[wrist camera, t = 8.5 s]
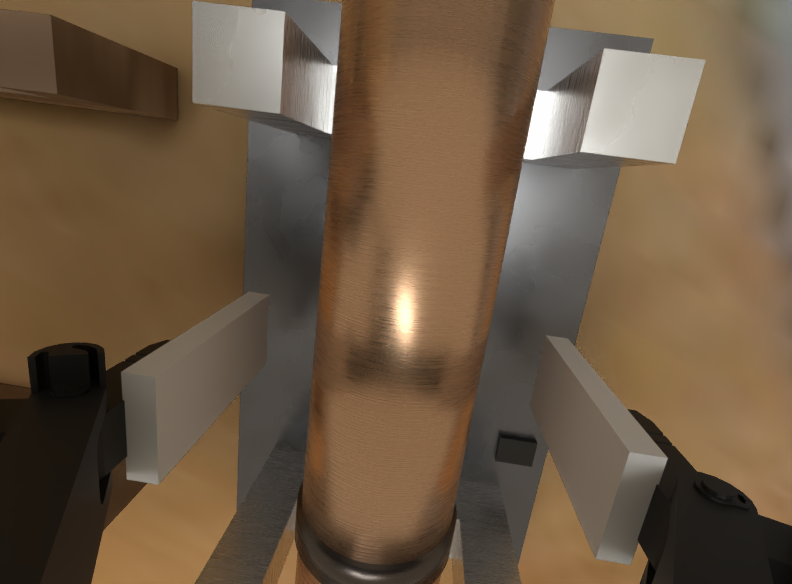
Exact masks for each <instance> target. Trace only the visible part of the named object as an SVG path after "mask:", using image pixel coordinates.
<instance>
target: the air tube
mask: <svg viewBox="0 0 792 584" xmlns="http://www.w3.org/2000/svg"><path fill="white" fill-rule="evenodd" d="M554 3H555V0H342V12H341V24H340V36H339V49H338V61H337V73H336V86H335V98H334V110H333V123H332V135H331V147H330V159H329V172H328V184H327V196H326V209H325V221H324V233H323V246H322V258H321V270H320V283H319V295H318V307H317V320H316V332H315V344H314V357H313V369H312V381H311V393H310V406H309V418H308V430H307V443H306V455H305V467H304V480H303V482H302V484H301V486H300V489H299V492H298V497H297V508H296V521H295V542H296V547H297V550H298V554H297V566H296V578H295V584H439V581H440V576H441V573H442V571H443V570H444V568H445V566H446V564H447V561H448V559H449V555H450V550H451V545H452V540H453V535H454V530H455V525H456V520H457V510H456V504H455V501H456V496H457V491H458V486H459V481H460V476H461V471H462V466H463V460H464V455H465V450H466V445H467V440H468V435H469V430H470V425H471V420H472V415H473V410H474V405H475V400H476V395H477V390H478V385H479V380H480V375H481V370H482V365H483V360H484V355H485V350H486V345H487V340H488V335H489V330H490V325H491V320H492V315H493V310H494V305H495V300H496V295H497V289H498V284H499V279H500V274H501V269H502V264H503V259H504V254H505V249H506V244H507V239H508V234H509V229H510V224H511V219H512V214H513V209H514V204H515V199H516V194H517V189H518V184H519V179H520V174H521V169H522V164H523V159H524V154H525V149H526V144H527V139H528V134H529V129H530V124H531V119H532V113H533V108H534V103H535V98H536V93H537V88H538V83H539V78H540V73H541V68H542V63H543V58H544V53H545V48H546V43H547V38H548V33H549V28H550V23H551V18H552V13H553V8H554Z"/></svg>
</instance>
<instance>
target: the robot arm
mask: <svg viewBox="0 0 792 584" xmlns="http://www.w3.org/2000/svg"><path fill="white" fill-rule="evenodd" d="M268 313H269V295H268V294H262V293H255V292H247V293H246V294H244V295H243V296H241V297H240V298H238V299H236V300H235V301H233V302H232V303H230V304H228V305H227V306H225V307H224V308H222V309H220V310H219V311H217V312H216V313H214V314H212V315H211V316H209V317H208V318H206V319H204V320H203V321H201V322H200V323H198V324H197V325H195V326H193V327H192V328H190V329H189V330H187V331H185V332H184V333H182V334H181V335H179V336H177V337H176V338H174V339H173V340H165V341H162V342H158V343H155V344H152V345H149V346H147V347H146V348H144V349H142V350H140V351H139V352H137V353H136V355H132V356H130V357H129V358H127V359H125V362H124V361H122V362H120V363H119V364H117V365H115V366H114V367H112V368H110V369H109V370H107V371H106V368H105V353H104V348H102V347H101V346H99V345H96V344H91V343H75V342H74V343H65V344H58V345H53V346H49V347H45V348H43V349H40V350H38V351H35V352H33V353H32V354H31V355H29V356H28V357H27V359H28V368H29V376H30V385H31V395H30V396H29V398H27V399H0V584H91V582H92V577H93V573H94V568H95V564H96V559H97V555H98V550H99V546H100V541H101V537H102V532H103V528H104V523H105V519H106V514H107V510H108V505H109V501H110V496H111V492H112V487H113V478H112V470H113V469H114V468H115V467H116V466H117V465H118V464H119V463H120V462H121V461H122V460H124V459H125V458H126V475H127V479H128V480H134V481H139V482H145V483H151V484H157V485H159V484H160V483H161V481H162V480H163V479H164V478H165V477H166V476H167V475H168V474H169V472H170V471H171V470H172V469H173V468H174V467H175V466H176V465H177V463H178V462H179V461H180V460H181V459H182V458H183V457H184V456H185V454H186V453H187V452H188V451H189V450H190V449H191V448H192V446H193V445H194V444H195V443H196V442H197V441H198V440H199V439H200V437H201V436H202V435H203V434H204V433H205V432H206V431H207V430H208V428H209V427H210V426H211V425H212V424H213V423H214V422H215V421H216V419H217V418H218V417H219V416H220V415H221V414H222V413H223V412H224V410H225V409H226V408H227V407H228V406H229V405H230V404H231V403H232V401H233V400H234V399H235V398H236V397H237V396H238V395H239V394H240V392H241V391H242V390H243V389H244V388H245V387H246V386H247V385H248V383H249V382H250V381H251V380H252V379H253V378H254V377H255V376H256V374H257V373H258V372H259V371H260V370H261V369H262V368H263V367H264V365H265V364H266V354H267V334H268ZM530 406H531V409H532V411H533V413H534V416H535V418H536V420H537V423H538V425H539V427H540V430H541V432H542V434H543V437H544V439H545V441H546V444H547V446H548V449H549V451H550V453H551V456H552V458H553V460H554V463H555V465H556V467H557V470H558V472H559V474H560V477H561V479H562V481H563V484H564V486H565V488H566V491H567V493H568V495H569V498H570V500H571V503H572V505H573V507H574V510H575V512H576V514H577V517H578V519H579V521H580V524H581V526H582V528H583V531H584V533H585V535H586V538H587V540H588V542H589V545H590V547H591V550H592V552H593V554H594V557H595V559H599V560H605V561H611V562H617V563H623V564H628V565H631V563H632V560H633V557H634V554H635V551H636V548H637V545H638V543H639V544H640V545H641V547H642V549H643V551H644V552H645V554H646V556H647V558H648V562H647V565H646V568H645V570H644V573H643V576H642V579H641V581H640V584H792V526H790V525H787V524H784V523H781V522H778V521H775V520H772V519H770V518H767V517H764V516H761V515H758V512H757V509H756V507H755V505H754V504H753V502H752V501H751V500H750V499H749V498H748V497H747V496H746V495H745V494H744V493H743V492H741V491H740V490H738V489H737V488H735V487H734V486H732V485H731V484H729V483H727V482H725V481H723V480H721V479H719V478H717V477H714V476H711V475H708V474H705V473H702V472H697V471H696V470H695V469H694V468H693V466H692V465H691V464H690V463H689V462H688V461H687V460H686V459H685V458H684V456H683V455H682V454H681V453H680V452H679V451H678V450H677V449H676V447H675V446H672V443H671V442H670V441H669V440H668V439H667V437H666V436H663V433H662V432H661V431H660V430H659V429H658V427H657V426H656V425H655V424H654V423H653V422H652V421H651V420H649V419H648V418H646V417H645V416H643V415H642V414H640V413H639V412H637V411H636V410H629V409H626V407H625V406H624V405H623V404H622V403H621V401H620V400H619V399H618V398H617V397H616V395H615V394H614V393H613V392H612V391H611V389H610V388H609V387H608V386H607V385H606V383H605V382H604V381H603V380H602V379H601V377H600V376H599V375H598V374H597V373H596V371H595V370H594V369H593V368H592V367H591V365H590V364H589V363H588V362H587V361H586V359H585V358H584V357H583V356H582V355H581V353H580V352H579V351H578V350H577V349H576V347H575V346H574V345H573V344H572V343H571V341H570V340H569V339H568V338H561V337H555V336H548V335H546V338H545V342H544V346H543V350H542V355H541V359H540V363H539V367H538V371H537V376H536V380H535V384H534V388H533V393H532V397H531V401H530Z"/></svg>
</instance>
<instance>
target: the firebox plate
mask: <svg viewBox="0 0 792 584" xmlns="http://www.w3.org/2000/svg"><path fill="white" fill-rule="evenodd" d="M341 12H342V3H334V2H326V1H317V0H252V8H250V7H242V6H233V5H224V4H215V3H207V2H198V1H192V35H193V103H196V104H199V105H202V106H205V107H209V108H212V109H215V110H218V111H222V112H225V113H228V114H231V115H235V116H238V117H241V118H244V119H248V120H249V125H248V158H247V191H246V223H245V256H244V289H243V295H244V294H246V293H247V292H255V293H262V294H268V295H269V313H268V334H267V354H266V364H265V365H264V367H263V368H262V369H261V370H260V371H259V372H258V373H257V374H256V376H255V377H254V378H253V379H252V380H251V381H250V382H249V383H248V385H247V386H246V387H245V388H244V389H243V390H242V391H241V392H240V419H239V452H238V485H237V512H236V514H235V515H234V517H233V519H232V520H231V522H230V524H229V526H228V527H227V529H226V531H225V532H224V534H223V536H222V538H221V539H220V541H219V543H218V544H217V546H216V548H215V550H214V551H213V553H212V555H211V556H210V558H209V560H208V562H207V563H206V565H205V567H204V568H203V570H202V572H201V574H200V575H199V577H198V579H197V580H196V582H195V584H277V582H278V579H279V577H280V574H281V572H282V569H283V566H284V564H285V561H286V558H287V556H288V553H289V551H290V548H291V545H292V543H293V540H294V538H295V521H296V508H297V497H298V492H299V489H300V486H301V484H302V482H303V480H304V467H305V455H306V443H307V430H308V418H309V406H310V393H311V381H312V369H313V357H314V344H315V332H316V320H317V307H318V295H319V283H320V270H321V258H322V246H323V233H324V221H325V209H326V196H327V184H328V172H329V159H330V147H331V135H332V123H333V110H334V98H335V86H336V73H337V61H338V49H339V36H340V24H341ZM653 40H654V39H651V38H642V37H634V36H625V35H616V34H607V33H598V32H590V31H581V30H572V29H563V28H554V27H550V28H549V33H548V38H547V43H546V48H545V53H544V58H543V63H542V68H541V73H540V78H539V83H538V88H537V93H536V98H535V103H534V108H533V113H532V119H531V124H530V129H529V134H528V139H527V144H526V149H525V154H524V159H523V164H522V169H521V174H520V179H519V184H518V189H517V194H516V199H515V204H514V209H513V214H512V219H511V224H510V229H509V234H508V239H507V244H506V249H505V254H504V259H503V264H502V269H501V274H500V279H499V284H498V289H497V295H496V300H495V305H494V310H493V315H492V320H491V325H490V330H489V335H488V340H487V345H486V350H485V355H484V360H483V365H482V370H481V375H480V380H479V385H478V390H477V395H476V400H475V405H474V410H473V415H472V420H471V425H470V430H469V435H468V440H467V445H466V450H465V455H464V460H463V466H462V471H461V476H460V481H459V486H458V491H457V496H456V501H455V504H456V510H457V520H456V525H455V530H454V535H453V540H452V545H451V550H450V555H449V558H452V575H453V584H521V580H520V575H519V571H518V563H519V559H520V555H521V551H522V547H523V543H524V539H525V535H526V532H527V528H528V524H529V520H530V516H531V512H532V508H533V504H534V501H535V497H536V493H537V489H538V485H539V481H540V477H541V473H542V470H543V466H544V462H545V458H546V454H547V450H548V446H547V444H546V441H545V439H544V437H543V434H542V432H541V430H540V427H539V425H538V423H537V420H536V418H535V416H534V413H533V411H532V409H531V406H530V401H531V397H532V393H533V388H534V384H535V380H536V376H537V371H538V367H539V363H540V359H541V355H542V350H543V346H544V342H545V338H546V335H548V336H555V337H561V338H568V339H569V340H570V341H571V343H572V344H573V345H574V346H575V342H576V338H577V334H578V330H579V326H580V322H581V319H582V315H583V311H584V307H585V303H586V299H587V295H588V291H589V288H590V284H591V280H592V276H593V272H594V268H595V264H596V260H597V257H598V253H599V249H600V245H601V241H602V237H603V233H604V229H605V226H606V222H607V218H608V214H609V210H610V206H611V202H612V198H613V195H614V191H615V187H616V183H617V179H618V175H619V171H620V167H622V166H642V165H661V164H676V160H677V157H678V153H679V150H680V146H681V143H682V140H683V136H684V133H685V129H686V126H687V122H688V119H689V116H690V112H691V109H692V105H693V102H694V98H695V95H696V92H697V88H698V85H699V81H700V78H701V74H702V71H703V67H704V64H705V61H706V60H701V59H693V58H684V57H675V56H666V55H658V54H650V51H651V47H652V44H653Z"/></svg>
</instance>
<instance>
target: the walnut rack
mask: <svg viewBox="0 0 792 584" xmlns="http://www.w3.org/2000/svg"><path fill="white" fill-rule="evenodd" d="M0 98H8V99H15V100H23V101H31V102H39V103H46V104H54V105H62V106H70V107H78V108H85V109H93V110H101V111H109V112H116V113H124V114H132V115H140V116H147V117H155V118H163V119H171V120H178V106H177V68H175V67H173V66H170V65H168V64H166V63H163V62H161V61H159V60H156V59H154V58H151V57H149V56H147V55H144V54H142V53H140V52H137V51H135V50H133V49H130V48H128V47H125V46H123V45H121V44H118V43H116V42H114V41H111V40H109V39H107V38H104V37H102V36H99V35H97V34H95V33H92V32H90V31H88V30H85V29H83V28H80V27H78V26H76V25H73V24H71V23H69V22H66V21H64V20H62V19H59V18H57V17H54V16H52V15H47V14H39V13H30V12H22V11H13V10H5V9H0ZM30 395H31V389H30V388H24V387H18V386H12V385H6V384H0V399H27V398H29V396H30ZM112 478H113V487H112V492H111V496H110V501H109V505H108V510H107V514H106V519H105V523H104V528H103V530H104V529H105V528H106V527H107V526H108V525H109V524H110V523H111V522H112V521H113V520H114V518H115V517H116V516H117V515H118V514H119V513H120V512H121V511H122V510H123V509H124V508H125V507H126V506H127V504H128V503H129V502H130V501H131V500H132V499H133V498H134V497H135V496H136V495H137V494H138V493H139V492H140V490H141V489H142V488H143V487H144V486H145V485H146V484H147V483H145V482H139V481H134V480H128V479H127V475H126V458H125V459H124V460H122V461H121V462H120V463H119V464H118V465H117V466H116V467H115V468H114V469H113V470H112Z"/></svg>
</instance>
